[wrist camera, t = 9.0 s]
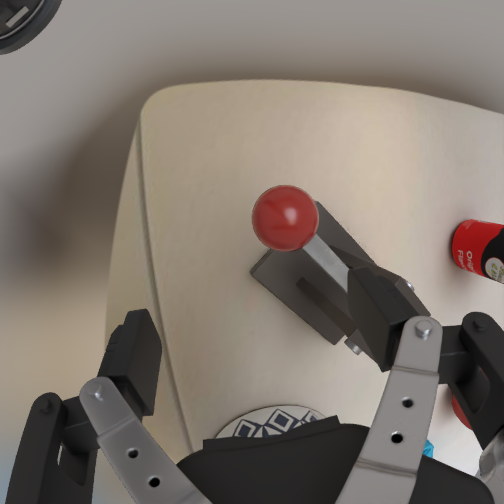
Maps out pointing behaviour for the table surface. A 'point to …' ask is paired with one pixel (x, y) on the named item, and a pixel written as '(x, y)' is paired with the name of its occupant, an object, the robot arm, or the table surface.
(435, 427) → the table surface
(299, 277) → the grey lever stand
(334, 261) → the tap lever
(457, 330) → the robot arm
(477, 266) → the beverage can
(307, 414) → the planter
